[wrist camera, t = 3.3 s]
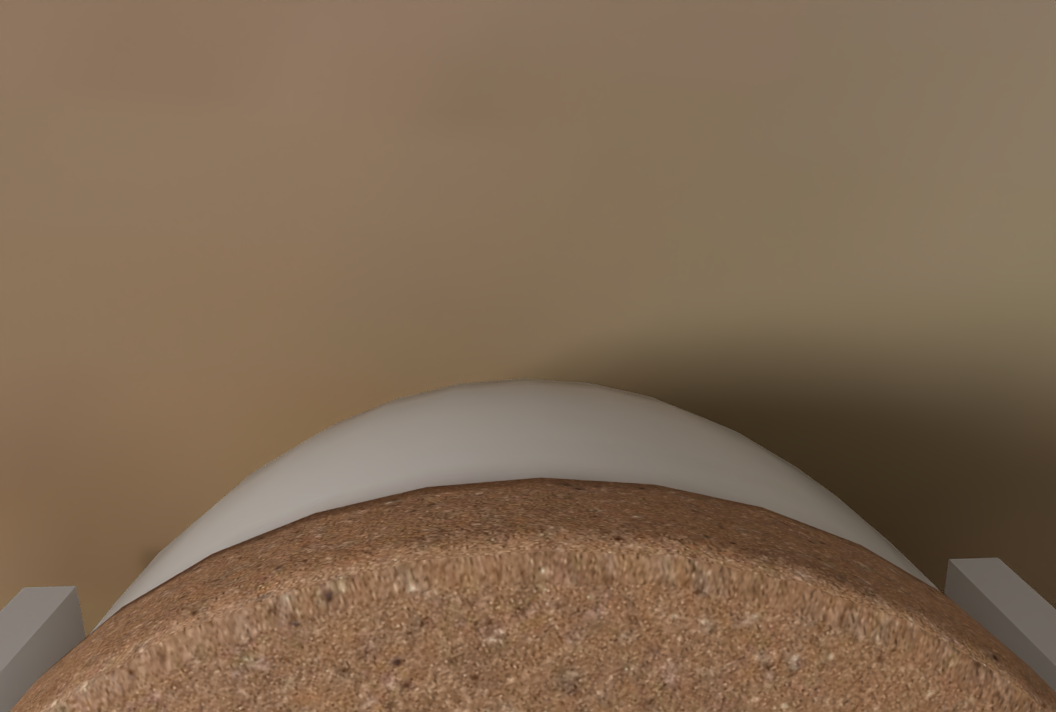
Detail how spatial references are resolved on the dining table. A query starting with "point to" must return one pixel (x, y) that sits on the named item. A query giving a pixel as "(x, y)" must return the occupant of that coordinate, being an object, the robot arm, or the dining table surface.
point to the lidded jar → (534, 579)
